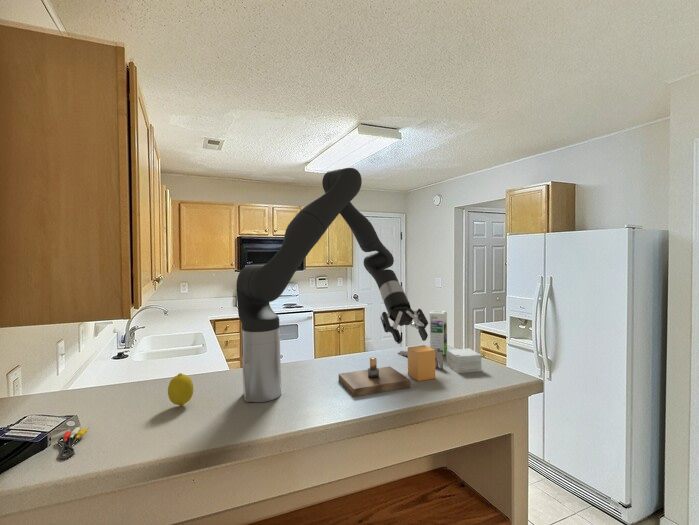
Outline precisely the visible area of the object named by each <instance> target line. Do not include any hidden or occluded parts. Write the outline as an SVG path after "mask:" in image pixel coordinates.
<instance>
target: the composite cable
mask: <svg viewBox="0 0 699 525" xmlns="http://www.w3.org/2000/svg"><path fill="white" fill-rule="evenodd" d="M81 428H82V425H79V426H77V427H75V428H74V429H73V430H72V431H71V429H68V430H66V431H65V432H64V434H63V436H61V437H59V438H57V442H58V444H60V445H61V446H62V447H63V448H62V447H61V451H60V452H59V454H58V458H59V459H60V460H61V461H65V459H66V460H69V458H70V459H71V457H72V456H73V455H74V456H75V455H76V454H75V449H74V448H73V446H74V445H73V444H75V443H76V444H77V442H78V441H79V440H80V438H83V436H84V435H86V434H87V433H88V431H89V430H90V427H89V426H88V427H86V428H85V427H84V428H82V429H81ZM61 439H63V440H64V441H60V440H61ZM78 439H79V440H78ZM77 440H78V441H77ZM76 441H77V442H76ZM57 442H56V443H57ZM58 444H57V445H58ZM72 445H73V446H72ZM71 446H72V447H71ZM65 450H68V451H67V452H68V454H67V455H65V453H64V452H66V451H65ZM69 452H70V453H69ZM63 454H64V455H63ZM74 456H73V457H74ZM73 457H72V458H73Z"/></svg>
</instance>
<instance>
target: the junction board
mask: <svg viewBox="0 0 699 525" xmlns="http://www.w3.org/2000/svg"><path fill="white" fill-rule="evenodd" d="M377 368H378V369H379V378H376V379H371V378H368V369H363V370H361V369H360V370H356V371H348V372H343V373H342V372H341V373H338V382H339V381H340V382H339V383H340V384H341V385H342V386H343V387H344V388H345V389H346V390H347V391H348V392H349V393H350V395H352V397H354V398H357V397H361V396H367V395H373V394H379V393H385V392H391V391H396V390H403V389H407V388H411V387H412V386H411V384H412V383H411V379H410V378H409V377H408V376H406V375H404V374H403V373H401V372H399V371H397V369H394V368H393V367H391V365H390V366H384V367H383V366H382V367H377Z"/></svg>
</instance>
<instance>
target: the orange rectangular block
mask: <svg viewBox="0 0 699 525" xmlns="http://www.w3.org/2000/svg"><path fill="white" fill-rule="evenodd" d="M407 351H408V356H407V375H408V376H410V378H413V379H415V381H417V382H420V381H425V380H426V381H427V380H431V379H433V380H434V379H436V367H435V350H434V349H432V348H430V346H427V345H424V344H423V345H416V346H408V347H407Z"/></svg>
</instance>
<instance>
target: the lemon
mask: <svg viewBox="0 0 699 525" xmlns="http://www.w3.org/2000/svg"><path fill="white" fill-rule="evenodd" d="M193 395H194V382H193V381H192V378H191V377H190V376H188V375H187V374H184V373H181V372H180V373H178V374H177V375H175V376H174V377H173V378H172V379H170V382H169V383H168V389H167V396H168V398H169V401H170V402H171V403H172V404H174V405H176V406H177V405H178V407H183V406H184V405H185V404H187V403H188V402H189V401H190V400H191V399H192V397H193Z"/></svg>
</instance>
